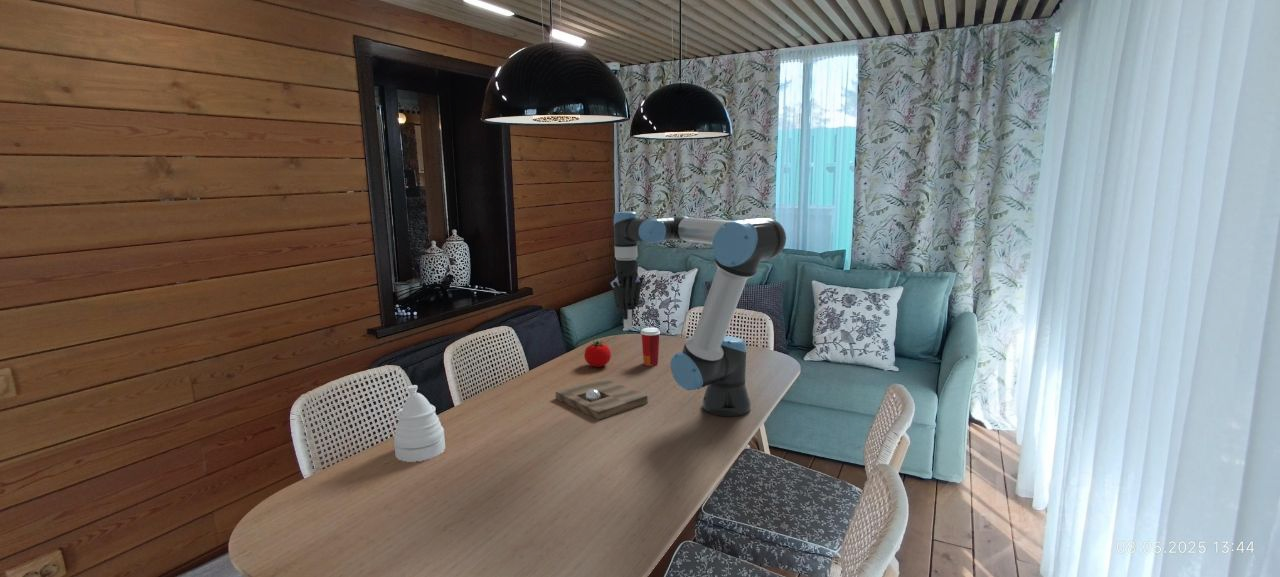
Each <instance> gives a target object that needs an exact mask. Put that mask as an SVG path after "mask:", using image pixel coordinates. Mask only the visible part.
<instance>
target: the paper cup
mask: <svg viewBox="0 0 1280 577" xmlns="http://www.w3.org/2000/svg"><path fill="white" fill-rule="evenodd" d="M639 334H640V335H641V345H642V346H641V347H642V359H643V365H644V366H646V367H655V366H658V364H659V352H660V351H659V349H660V348H659V347H660V334H661V331H660V328H657V327H645V328H642V329H641V331H640V333H639Z"/></svg>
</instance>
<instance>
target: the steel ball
mask: <svg viewBox="0 0 1280 577" xmlns="http://www.w3.org/2000/svg"><path fill="white" fill-rule="evenodd" d="M600 398H601V395H600V393H599V391H598V390H596V389H590V390H588V391H587V393H586V395H585V399H586V400H587V401H589V402H593V401H597V400H600Z"/></svg>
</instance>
